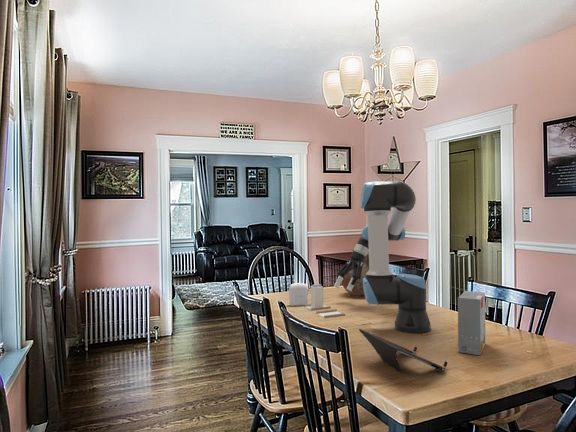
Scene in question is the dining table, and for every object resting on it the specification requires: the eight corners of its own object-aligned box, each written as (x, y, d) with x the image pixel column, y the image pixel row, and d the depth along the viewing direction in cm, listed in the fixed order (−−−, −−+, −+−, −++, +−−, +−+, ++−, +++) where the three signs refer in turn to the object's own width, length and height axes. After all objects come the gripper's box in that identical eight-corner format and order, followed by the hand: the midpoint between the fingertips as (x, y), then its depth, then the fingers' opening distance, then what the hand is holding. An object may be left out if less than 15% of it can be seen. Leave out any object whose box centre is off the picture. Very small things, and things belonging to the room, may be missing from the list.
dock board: (346, 317, 197) (346, 313, 197) (323, 320, 193) (323, 316, 193) (323, 306, 221) (323, 302, 221) (303, 308, 217) (303, 304, 217)
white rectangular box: (323, 307, 213) (323, 285, 213) (314, 308, 211) (314, 285, 211) (319, 305, 218) (319, 283, 218) (311, 306, 216) (310, 284, 216)
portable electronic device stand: (445, 394, 128) (455, 366, 129) (388, 371, 120) (400, 342, 122) (401, 368, 149) (410, 344, 150) (351, 347, 142) (361, 322, 143)
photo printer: (307, 303, 229) (306, 281, 229) (308, 305, 225) (308, 283, 224) (289, 304, 227) (288, 282, 227) (290, 306, 223) (289, 284, 223)
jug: (351, 290, 263) (350, 244, 263) (382, 293, 251) (381, 245, 250) (335, 296, 246) (333, 247, 245) (368, 300, 233) (366, 248, 233)
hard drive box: (481, 356, 142) (480, 299, 142) (457, 352, 146) (456, 297, 146) (486, 343, 155) (485, 291, 155) (464, 340, 160) (463, 290, 159)
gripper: (377, 258, 211) (360, 294, 206) (352, 256, 235) (336, 289, 229) (366, 251, 209) (348, 287, 204) (342, 250, 232) (326, 283, 227)
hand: (342, 288), depth 217 cm, fingers open, 13 cm apart
